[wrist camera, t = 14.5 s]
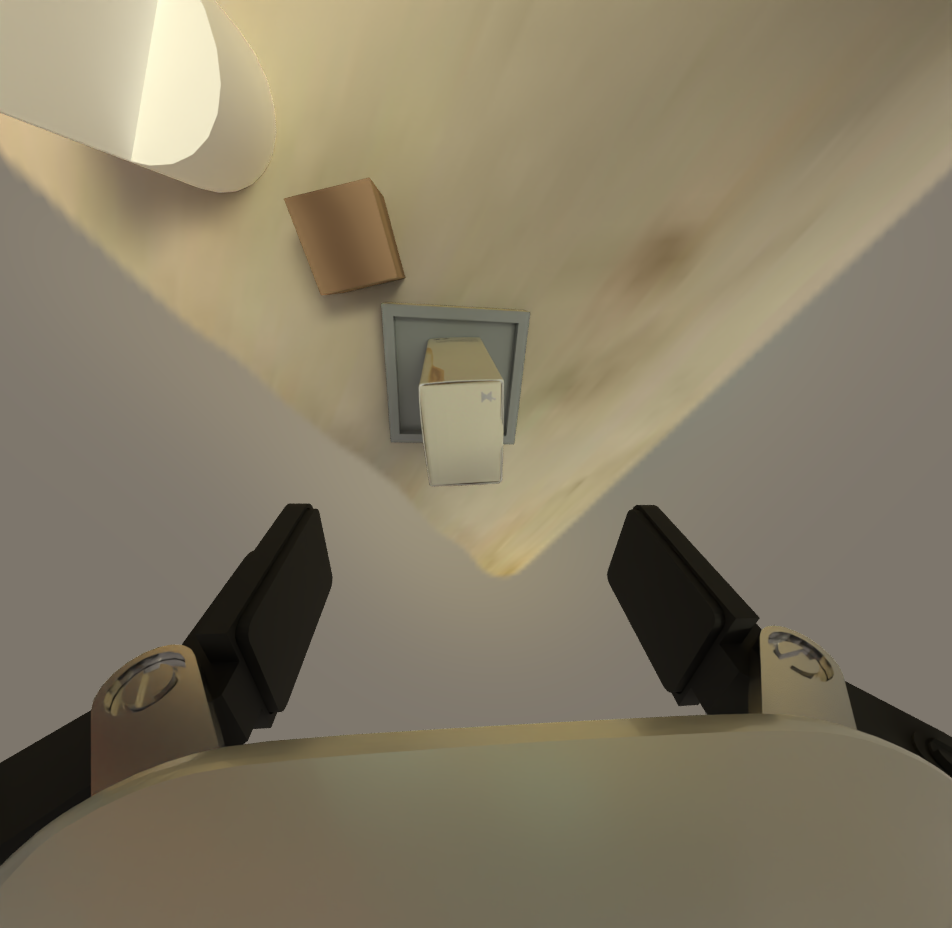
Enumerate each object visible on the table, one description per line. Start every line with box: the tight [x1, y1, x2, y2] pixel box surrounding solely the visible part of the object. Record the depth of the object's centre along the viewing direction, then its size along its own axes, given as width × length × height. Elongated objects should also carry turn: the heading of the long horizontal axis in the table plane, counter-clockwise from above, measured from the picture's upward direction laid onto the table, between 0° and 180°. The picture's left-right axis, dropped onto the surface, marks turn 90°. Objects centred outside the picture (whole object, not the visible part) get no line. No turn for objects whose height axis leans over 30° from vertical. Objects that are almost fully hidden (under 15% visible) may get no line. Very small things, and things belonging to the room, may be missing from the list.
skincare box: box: [418, 337, 504, 486], centre depth 23 cm, size 6×4×12 cm
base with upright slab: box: [0, 0, 276, 193], centre depth 15 cm, size 9×9×12 cm
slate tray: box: [381, 302, 530, 444], centre depth 28 cm, size 11×11×2 cm
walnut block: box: [284, 178, 405, 295], centre depth 22 cm, size 5×5×5 cm
